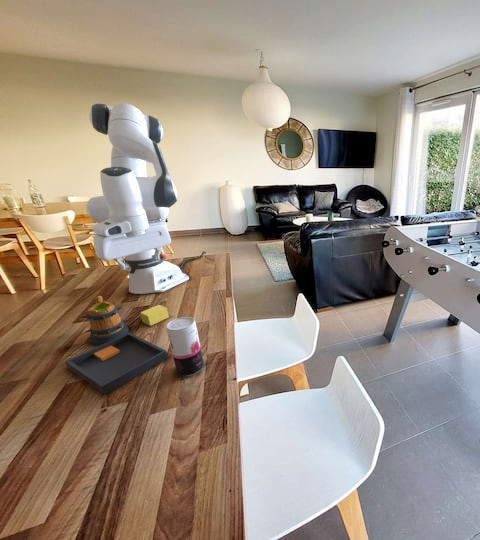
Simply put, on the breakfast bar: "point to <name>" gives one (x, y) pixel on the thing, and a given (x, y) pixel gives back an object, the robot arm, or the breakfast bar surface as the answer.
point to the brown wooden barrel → (105, 322)
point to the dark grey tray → (117, 362)
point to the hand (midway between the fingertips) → (141, 264)
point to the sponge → (154, 315)
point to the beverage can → (185, 346)
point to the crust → (106, 353)
